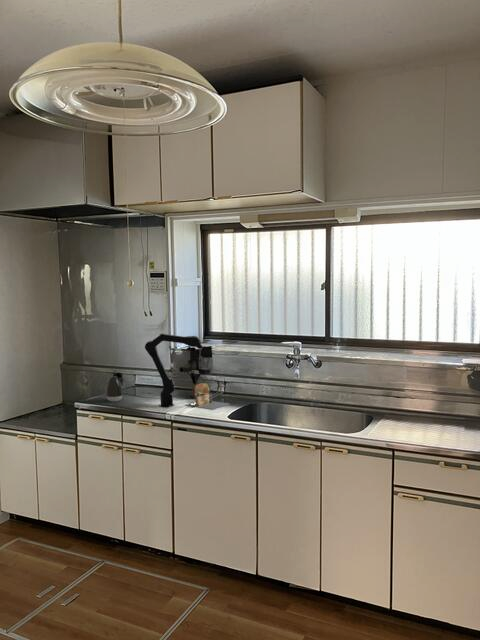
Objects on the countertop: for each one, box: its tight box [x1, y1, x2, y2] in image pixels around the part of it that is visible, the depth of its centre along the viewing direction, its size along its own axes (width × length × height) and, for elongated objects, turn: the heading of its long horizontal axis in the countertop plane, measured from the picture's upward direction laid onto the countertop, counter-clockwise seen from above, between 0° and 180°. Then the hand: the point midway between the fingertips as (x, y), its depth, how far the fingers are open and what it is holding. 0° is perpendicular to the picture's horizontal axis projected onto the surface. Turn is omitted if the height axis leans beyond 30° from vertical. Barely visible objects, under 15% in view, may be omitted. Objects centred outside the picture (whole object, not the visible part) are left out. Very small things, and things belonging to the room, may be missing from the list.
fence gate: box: [195, 394, 210, 406], centre depth 319 cm, size 11×2×5 cm, turn 144°
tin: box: [191, 382, 211, 399], centre depth 343 cm, size 15×3×8 cm, turn 143°
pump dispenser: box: [105, 375, 124, 403], centre depth 334 cm, size 10×10×15 cm
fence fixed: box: [197, 392, 213, 403], centre depth 327 cm, size 10×2×5 cm, turn 56°
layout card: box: [186, 400, 230, 411], centre depth 320 cm, size 20×16×1 cm
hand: (194, 384), depth 319 cm, fingers closed
